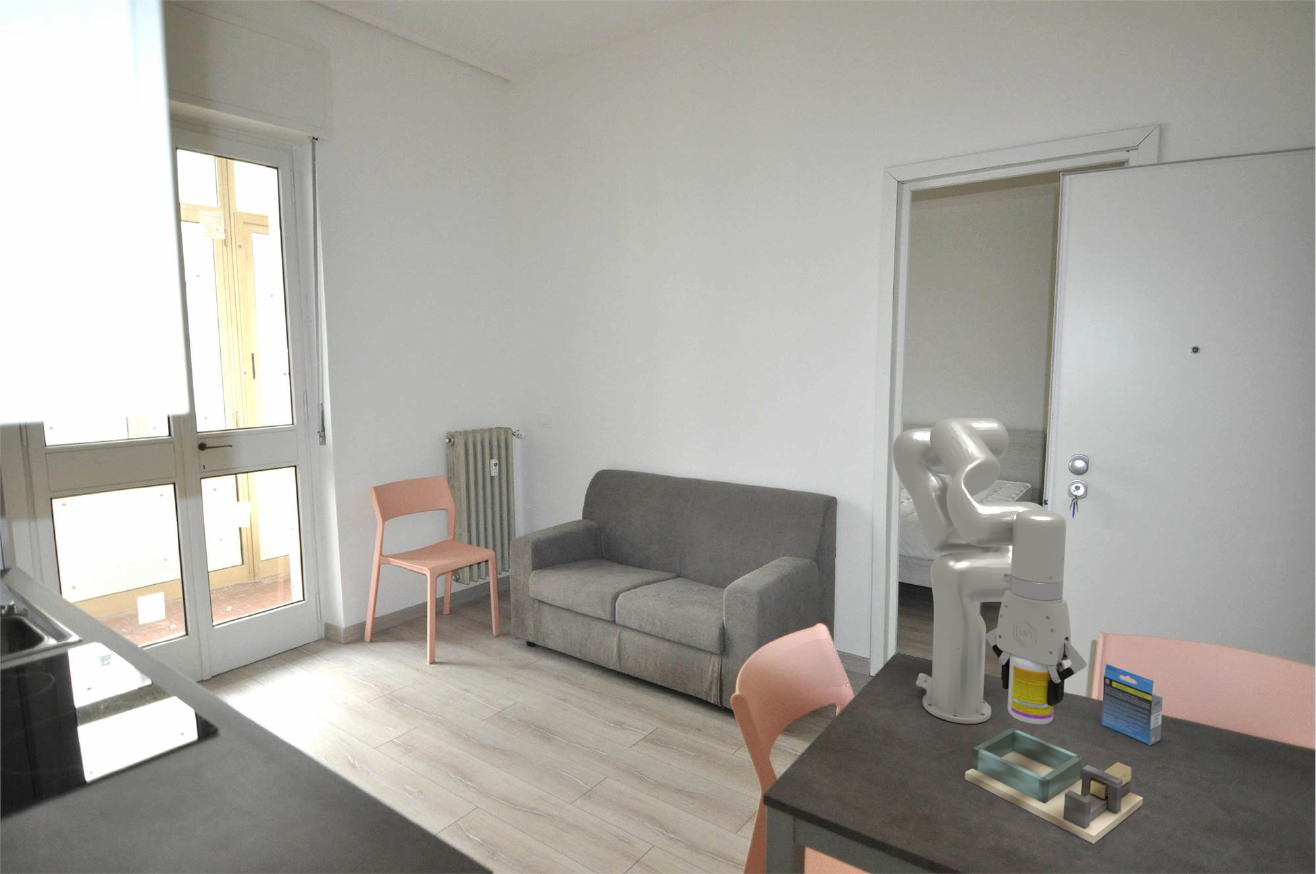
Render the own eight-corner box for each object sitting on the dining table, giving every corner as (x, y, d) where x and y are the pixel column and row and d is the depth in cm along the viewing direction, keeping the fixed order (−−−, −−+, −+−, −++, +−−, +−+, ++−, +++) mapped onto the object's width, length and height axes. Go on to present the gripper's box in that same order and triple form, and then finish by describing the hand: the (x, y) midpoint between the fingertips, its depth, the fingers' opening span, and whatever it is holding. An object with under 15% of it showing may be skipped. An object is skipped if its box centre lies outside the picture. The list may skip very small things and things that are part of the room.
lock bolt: (1090, 792, 111) (1090, 780, 111) (1116, 773, 116) (1117, 761, 116) (1104, 799, 109) (1104, 786, 109) (1130, 779, 114) (1131, 767, 114)
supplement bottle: (1059, 728, 114) (1063, 649, 113) (1013, 724, 116) (1017, 646, 115) (1045, 708, 121) (1049, 633, 120) (1002, 705, 122) (1006, 631, 121)
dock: (964, 779, 120) (966, 743, 119) (1016, 749, 129) (1018, 716, 128) (1093, 843, 104) (1096, 803, 103) (1142, 804, 113) (1144, 767, 112)
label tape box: (1161, 741, 132) (1166, 676, 131) (1149, 746, 130) (1153, 680, 129) (1112, 720, 140) (1116, 658, 139) (1099, 725, 138) (1103, 662, 137)
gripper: (972, 579, 121) (968, 682, 123) (1081, 606, 107) (1075, 722, 109) (997, 571, 126) (993, 671, 127) (1105, 597, 111) (1099, 709, 113)
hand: (1031, 694), depth 118 cm, fingers closed on supplement bottle, 6 cm apart
